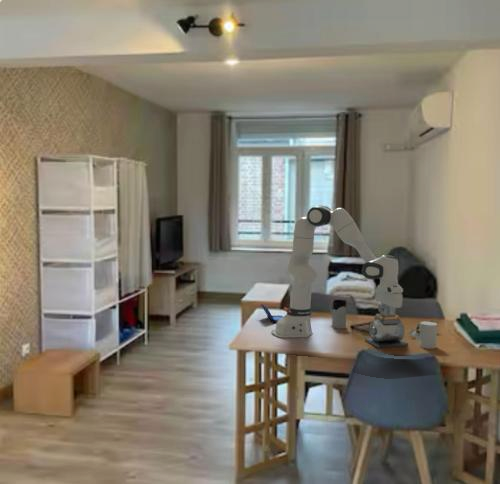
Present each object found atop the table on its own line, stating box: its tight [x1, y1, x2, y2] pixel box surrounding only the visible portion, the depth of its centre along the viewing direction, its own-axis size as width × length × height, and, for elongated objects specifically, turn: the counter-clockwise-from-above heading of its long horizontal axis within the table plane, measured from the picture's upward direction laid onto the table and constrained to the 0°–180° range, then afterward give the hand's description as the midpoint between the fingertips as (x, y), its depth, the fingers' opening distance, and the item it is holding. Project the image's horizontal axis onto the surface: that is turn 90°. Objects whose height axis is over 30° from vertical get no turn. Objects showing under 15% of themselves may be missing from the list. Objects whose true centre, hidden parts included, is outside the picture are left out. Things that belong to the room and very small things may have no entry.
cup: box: [418, 321, 438, 350], centre depth 280 cm, size 8×8×12 cm
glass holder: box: [329, 299, 347, 329], centre depth 320 cm, size 9×14×15 cm, turn 24°
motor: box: [364, 313, 409, 349], centre depth 284 cm, size 17×14×15 cm
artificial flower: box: [408, 320, 436, 341], centre depth 302 cm, size 9×22×10 cm, turn 131°
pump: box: [377, 305, 396, 317], centre depth 283 cm, size 8×4×5 cm, turn 108°
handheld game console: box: [261, 303, 284, 324], centre depth 330 cm, size 16×13×9 cm
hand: (387, 313), depth 283 cm, fingers closed on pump, 4 cm apart
